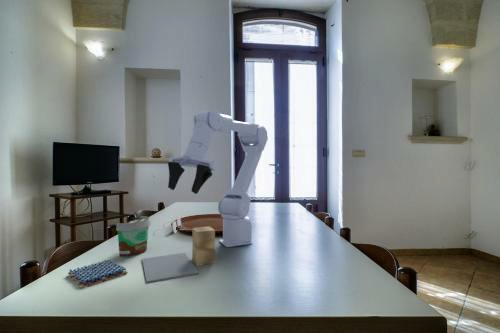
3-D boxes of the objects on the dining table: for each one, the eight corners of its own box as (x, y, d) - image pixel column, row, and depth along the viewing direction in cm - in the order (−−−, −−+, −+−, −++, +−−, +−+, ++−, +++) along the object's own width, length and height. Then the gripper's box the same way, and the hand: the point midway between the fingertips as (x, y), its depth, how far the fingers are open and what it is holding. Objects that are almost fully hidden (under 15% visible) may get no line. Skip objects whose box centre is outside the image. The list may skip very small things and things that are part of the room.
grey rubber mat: (184, 254, 80) (184, 252, 80) (198, 273, 65) (198, 272, 65) (142, 260, 75) (142, 258, 75) (146, 283, 60) (146, 281, 60)
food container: (134, 259, 75) (134, 224, 75) (115, 258, 76) (115, 223, 76) (158, 246, 87) (158, 216, 87) (141, 245, 88) (141, 215, 88)
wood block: (209, 256, 77) (209, 226, 77) (214, 262, 73) (214, 230, 73) (192, 259, 75) (192, 228, 75) (196, 265, 71) (196, 232, 71)
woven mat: (110, 265, 72) (110, 258, 72) (129, 276, 65) (129, 267, 65) (65, 278, 64) (65, 269, 64) (81, 291, 57) (81, 282, 57)
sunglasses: (174, 235, 102) (172, 222, 102) (152, 239, 102) (150, 226, 102) (182, 227, 116) (180, 215, 116) (163, 230, 116) (161, 219, 116)
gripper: (170, 138, 76) (152, 181, 71) (214, 141, 70) (198, 189, 66) (182, 149, 82) (167, 190, 77) (224, 154, 77) (210, 198, 72)
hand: (182, 190), depth 72 cm, fingers open, 7 cm apart
